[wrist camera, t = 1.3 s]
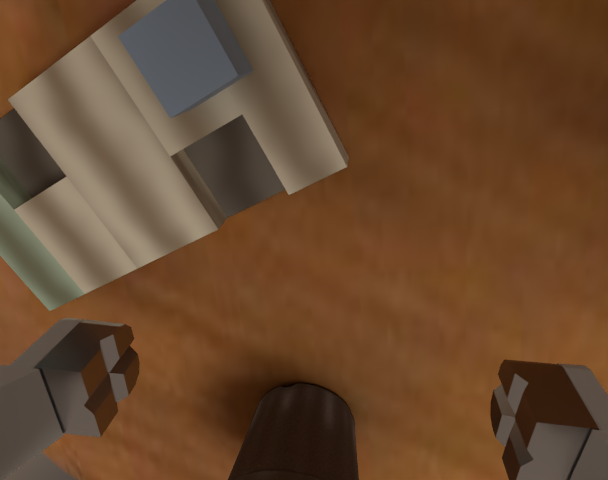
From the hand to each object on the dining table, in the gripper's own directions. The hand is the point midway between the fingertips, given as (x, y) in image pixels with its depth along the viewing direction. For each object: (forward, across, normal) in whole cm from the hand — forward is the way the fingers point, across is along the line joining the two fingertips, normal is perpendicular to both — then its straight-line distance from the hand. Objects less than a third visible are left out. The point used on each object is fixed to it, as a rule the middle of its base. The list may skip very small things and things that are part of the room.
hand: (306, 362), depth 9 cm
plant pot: (+29, +4, +36) cm, 46 cm away
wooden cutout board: (+29, +20, +4) cm, 35 cm away
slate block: (+26, +12, -5) cm, 29 cm away
